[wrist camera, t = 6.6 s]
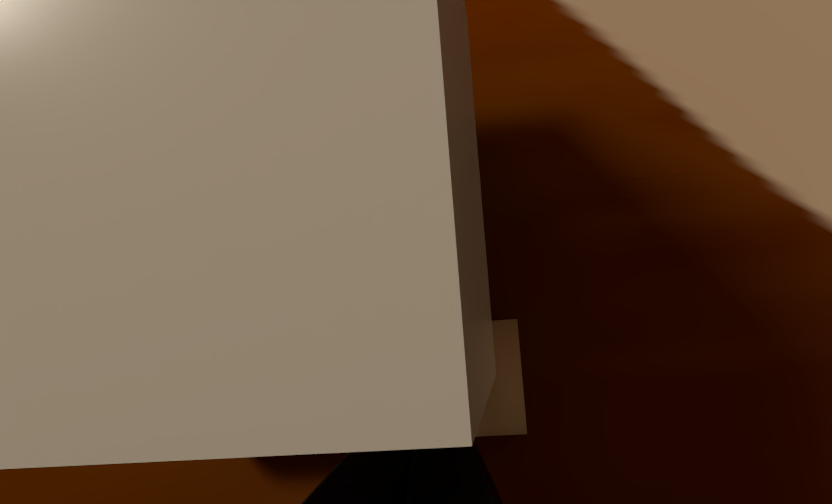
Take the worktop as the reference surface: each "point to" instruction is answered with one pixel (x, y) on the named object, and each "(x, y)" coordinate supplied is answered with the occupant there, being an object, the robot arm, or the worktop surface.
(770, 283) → the worktop surface
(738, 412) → the worktop surface
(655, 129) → the worktop surface
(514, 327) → the roller
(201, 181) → the slab
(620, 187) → the worktop surface
